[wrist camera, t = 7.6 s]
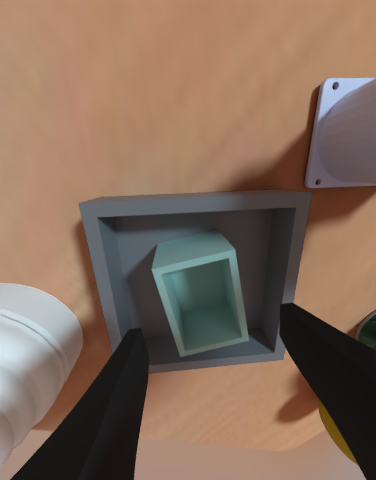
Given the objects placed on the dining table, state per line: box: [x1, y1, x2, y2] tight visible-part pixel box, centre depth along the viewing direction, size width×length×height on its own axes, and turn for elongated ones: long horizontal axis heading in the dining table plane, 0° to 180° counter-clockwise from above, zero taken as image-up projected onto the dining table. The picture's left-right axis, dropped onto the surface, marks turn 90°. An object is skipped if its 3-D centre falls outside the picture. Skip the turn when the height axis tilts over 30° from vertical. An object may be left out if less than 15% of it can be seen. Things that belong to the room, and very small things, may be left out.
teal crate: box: [152, 229, 249, 357], centre depth 16 cm, size 6×8×5 cm
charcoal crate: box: [79, 189, 312, 374], centre depth 17 cm, size 16×16×4 cm
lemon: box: [318, 400, 358, 464], centre depth 23 cm, size 6×6×8 cm
